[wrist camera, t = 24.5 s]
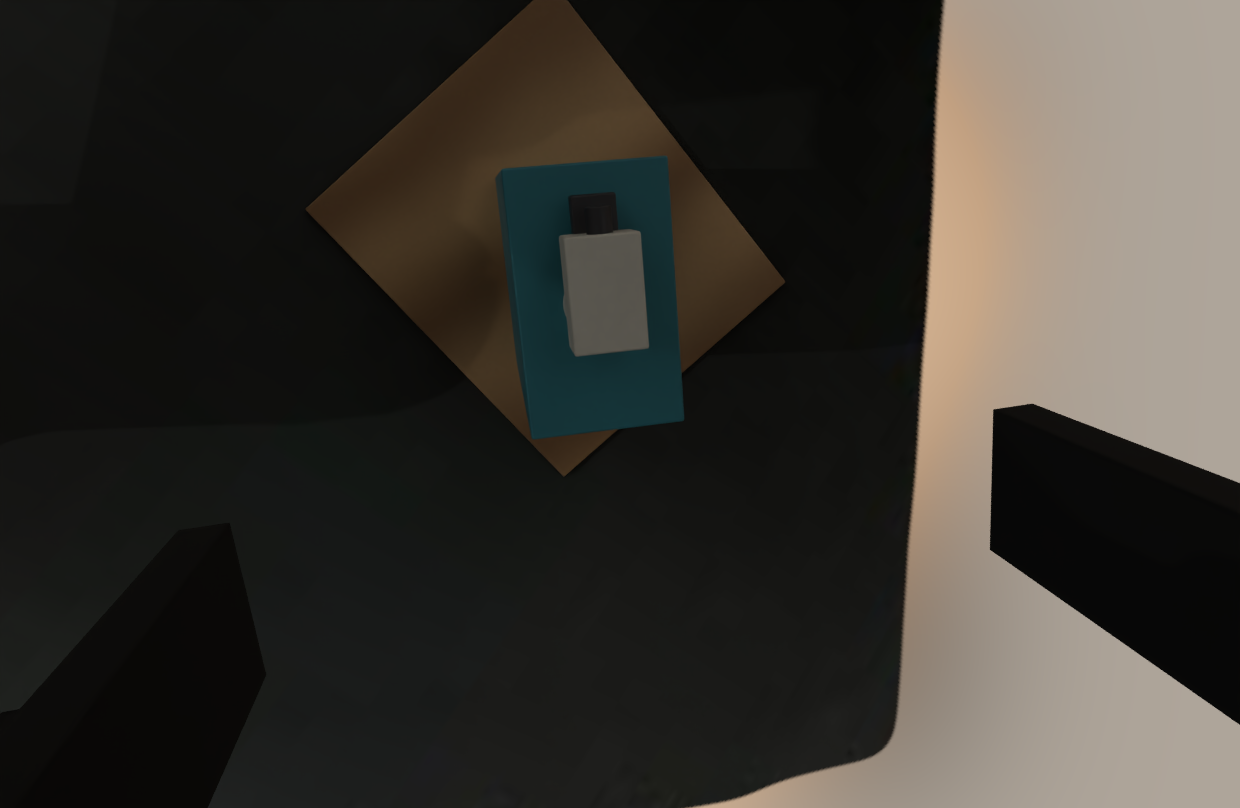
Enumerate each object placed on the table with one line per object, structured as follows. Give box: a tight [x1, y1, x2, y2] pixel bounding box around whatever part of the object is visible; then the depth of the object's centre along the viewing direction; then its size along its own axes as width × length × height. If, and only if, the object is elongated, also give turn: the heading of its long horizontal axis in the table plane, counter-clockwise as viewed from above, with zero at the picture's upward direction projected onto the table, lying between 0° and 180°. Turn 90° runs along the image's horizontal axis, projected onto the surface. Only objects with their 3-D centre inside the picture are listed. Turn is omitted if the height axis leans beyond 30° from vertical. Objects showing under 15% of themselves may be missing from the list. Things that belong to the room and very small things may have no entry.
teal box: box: [495, 156, 684, 440], centre depth 36 cm, size 18×6×10 cm
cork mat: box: [306, 0, 785, 476], centre depth 45 cm, size 20×17×1 cm
